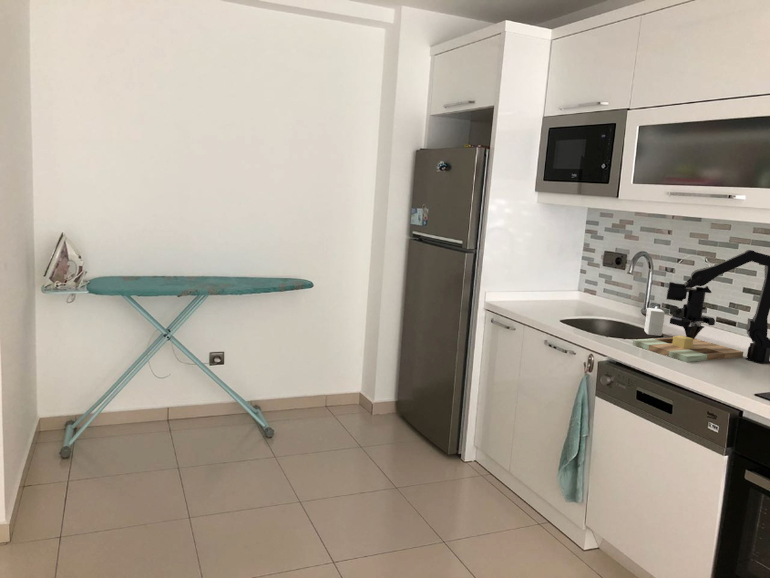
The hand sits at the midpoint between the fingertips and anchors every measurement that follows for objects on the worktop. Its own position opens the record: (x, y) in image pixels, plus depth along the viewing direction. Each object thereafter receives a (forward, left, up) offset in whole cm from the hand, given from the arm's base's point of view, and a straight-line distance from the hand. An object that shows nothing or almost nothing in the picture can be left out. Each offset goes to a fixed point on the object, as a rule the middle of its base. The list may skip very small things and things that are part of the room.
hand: (689, 342), depth 241 cm
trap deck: (0, +1, -3) cm, 3 cm away
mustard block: (0, +4, -1) cm, 4 cm away
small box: (+26, -11, -3) cm, 28 cm away
